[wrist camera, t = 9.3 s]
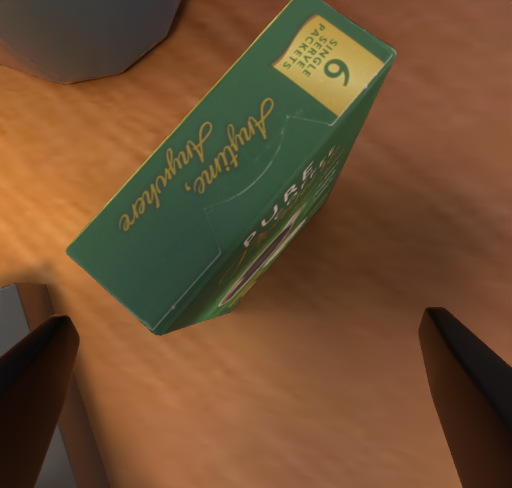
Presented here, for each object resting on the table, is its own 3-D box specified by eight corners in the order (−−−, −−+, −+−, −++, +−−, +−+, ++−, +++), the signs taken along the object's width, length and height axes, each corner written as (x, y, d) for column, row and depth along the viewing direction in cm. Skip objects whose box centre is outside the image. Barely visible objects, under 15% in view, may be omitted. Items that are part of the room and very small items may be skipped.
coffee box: (289, 163, 21) (304, -34, 8) (331, 197, 21) (413, 46, 8) (189, 278, 21) (42, 257, 8) (230, 315, 21) (146, 355, 8)
